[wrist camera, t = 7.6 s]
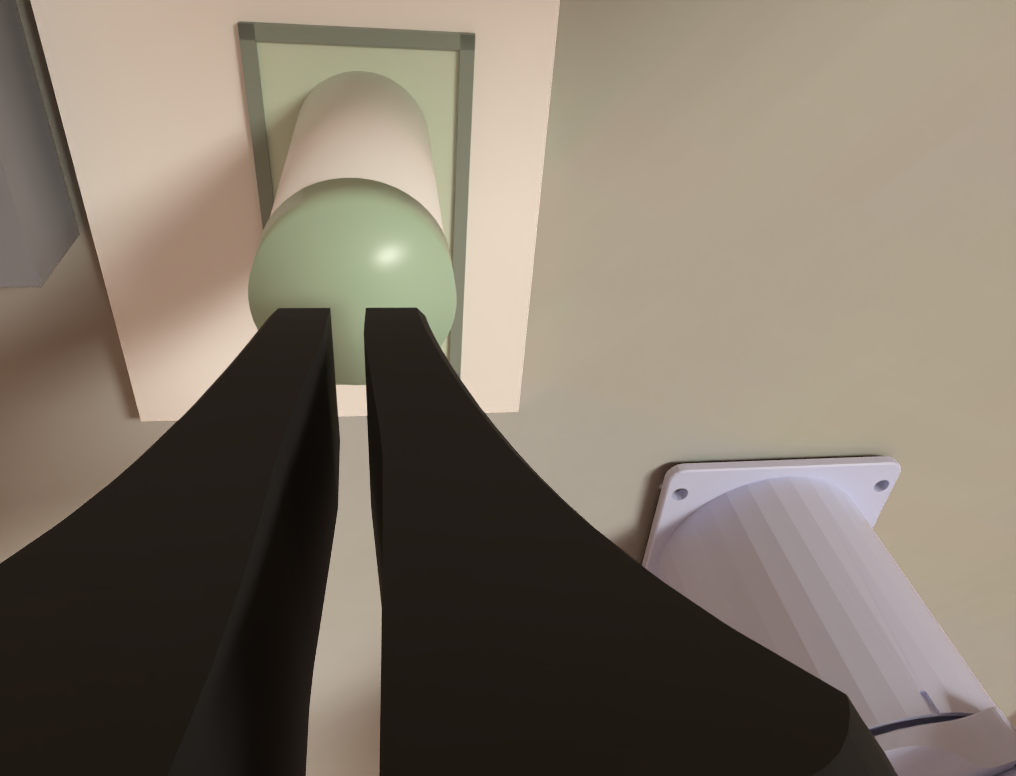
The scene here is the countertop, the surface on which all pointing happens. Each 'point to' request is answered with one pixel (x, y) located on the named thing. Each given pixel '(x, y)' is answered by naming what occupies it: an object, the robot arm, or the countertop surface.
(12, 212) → the button housing
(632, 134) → the countertop surface
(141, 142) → the board
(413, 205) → the green and white capsule
